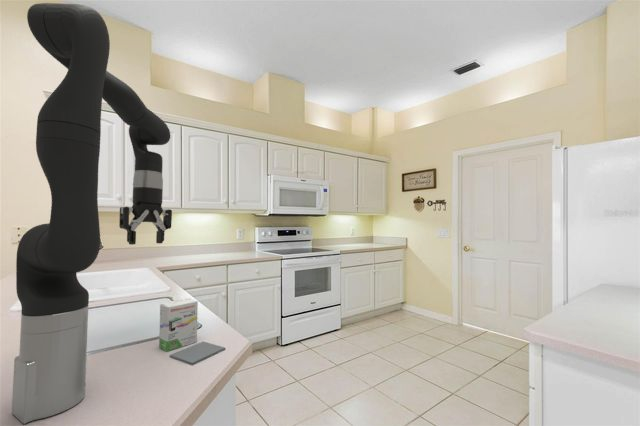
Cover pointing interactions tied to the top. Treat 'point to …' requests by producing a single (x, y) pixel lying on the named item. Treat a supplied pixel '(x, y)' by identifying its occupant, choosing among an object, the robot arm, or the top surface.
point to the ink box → (178, 323)
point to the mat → (197, 352)
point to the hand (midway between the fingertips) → (146, 243)
